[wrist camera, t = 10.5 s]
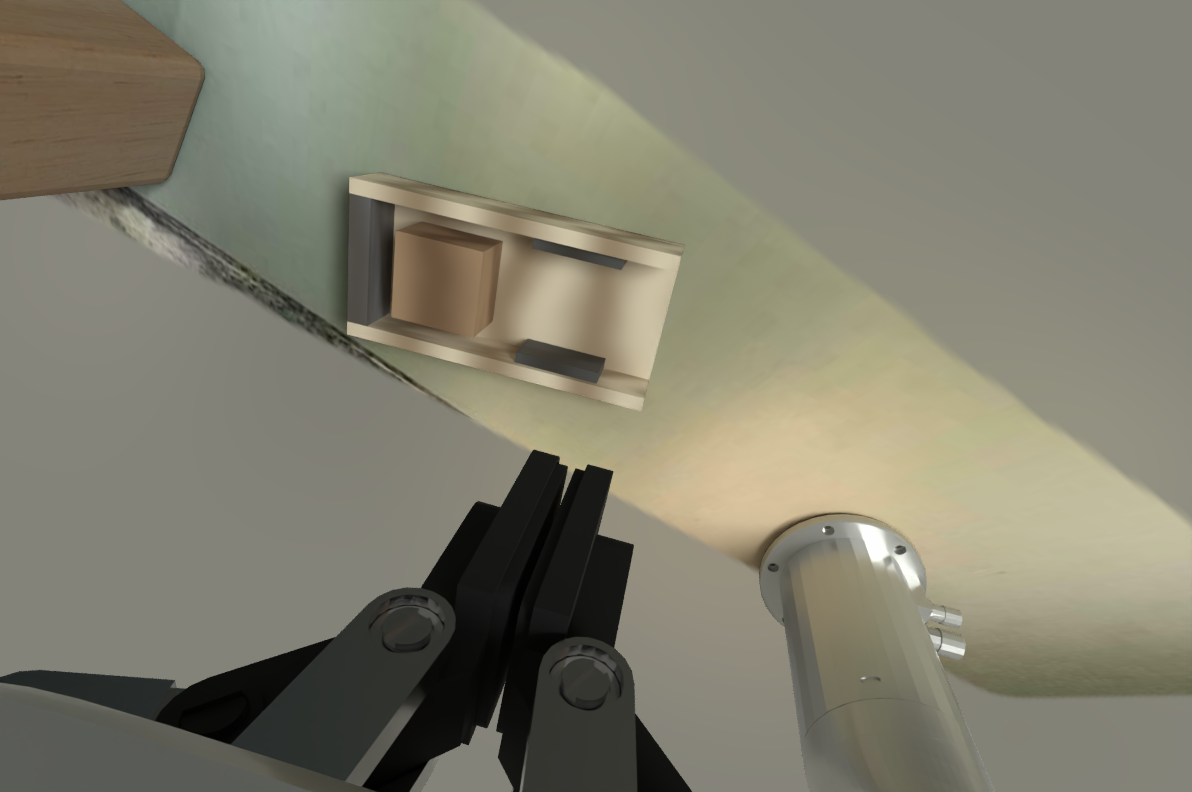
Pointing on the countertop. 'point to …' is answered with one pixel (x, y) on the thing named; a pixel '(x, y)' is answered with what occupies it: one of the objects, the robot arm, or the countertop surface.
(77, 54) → the block
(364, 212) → the chute
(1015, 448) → the countertop surface
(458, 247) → the block
